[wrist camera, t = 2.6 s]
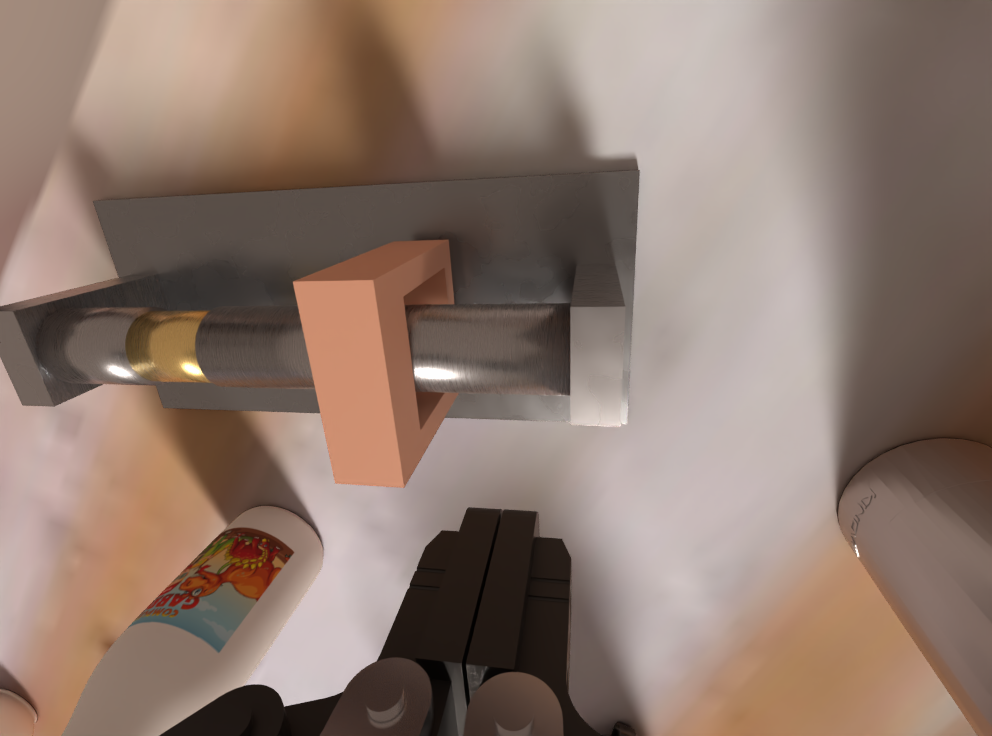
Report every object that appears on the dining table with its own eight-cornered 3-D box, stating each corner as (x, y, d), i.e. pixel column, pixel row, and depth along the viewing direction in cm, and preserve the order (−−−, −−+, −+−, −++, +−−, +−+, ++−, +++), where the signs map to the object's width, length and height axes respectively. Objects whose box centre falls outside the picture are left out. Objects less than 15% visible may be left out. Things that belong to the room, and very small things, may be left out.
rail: (638, 169, 25) (662, 173, 16) (626, 419, 30) (639, 518, 22) (101, 200, 31) (-83, 214, 22) (170, 404, 36) (41, 477, 27)
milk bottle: (345, 548, 38) (121, 899, 20) (294, 594, 41) (60, 934, 23) (266, 484, 37) (-46, 793, 19) (220, 536, 40) (-87, 845, 22)
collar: (448, 239, 26) (373, 280, 17) (461, 387, 29) (404, 487, 20) (393, 241, 26) (292, 281, 17) (412, 386, 29) (335, 483, 20)
